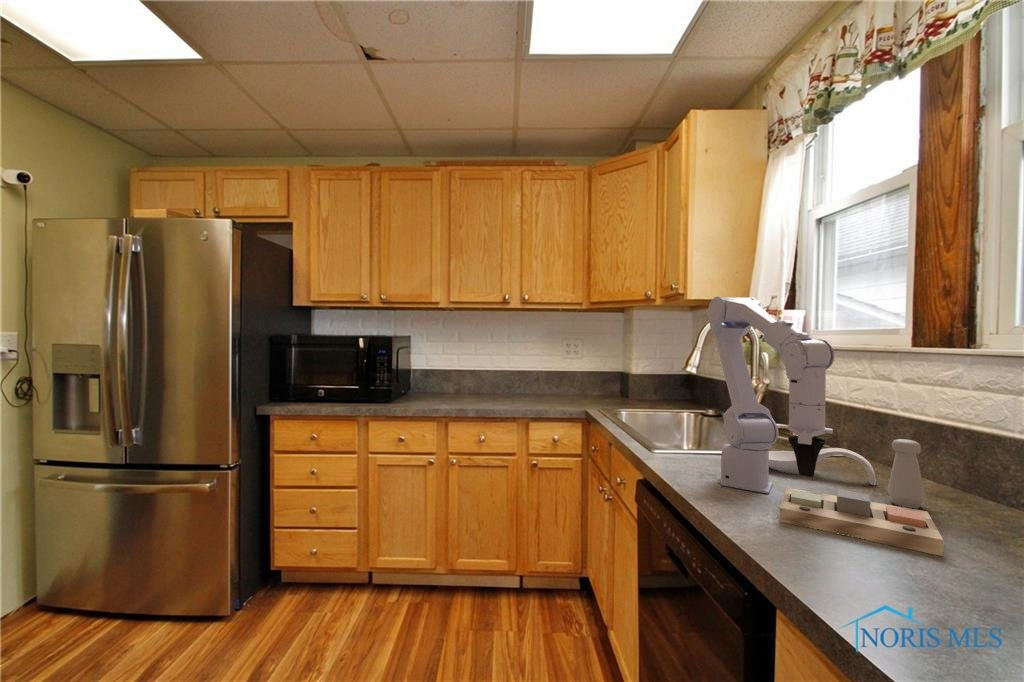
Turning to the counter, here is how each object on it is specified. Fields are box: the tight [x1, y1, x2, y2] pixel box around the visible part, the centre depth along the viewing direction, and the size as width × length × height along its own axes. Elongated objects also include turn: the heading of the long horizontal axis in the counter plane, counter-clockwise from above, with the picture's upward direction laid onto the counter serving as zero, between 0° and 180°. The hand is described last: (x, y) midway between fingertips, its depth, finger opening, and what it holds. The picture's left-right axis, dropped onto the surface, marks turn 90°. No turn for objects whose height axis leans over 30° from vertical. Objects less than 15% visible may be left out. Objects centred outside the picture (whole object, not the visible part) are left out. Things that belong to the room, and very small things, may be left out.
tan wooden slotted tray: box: [779, 486, 944, 557], centre depth 79 cm, size 21×14×3 cm, turn 54°
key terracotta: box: [886, 506, 926, 528], centre depth 75 cm, size 5×5×3 cm
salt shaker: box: [886, 438, 927, 510], centre depth 88 cm, size 6×6×13 cm
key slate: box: [836, 488, 871, 517], centre depth 79 cm, size 5×5×3 cm
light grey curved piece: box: [769, 447, 877, 486], centre depth 109 cm, size 24×12×7 cm, turn 53°
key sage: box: [791, 490, 821, 508], centre depth 83 cm, size 5×5×3 cm
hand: (806, 475), depth 83 cm, fingers closed
